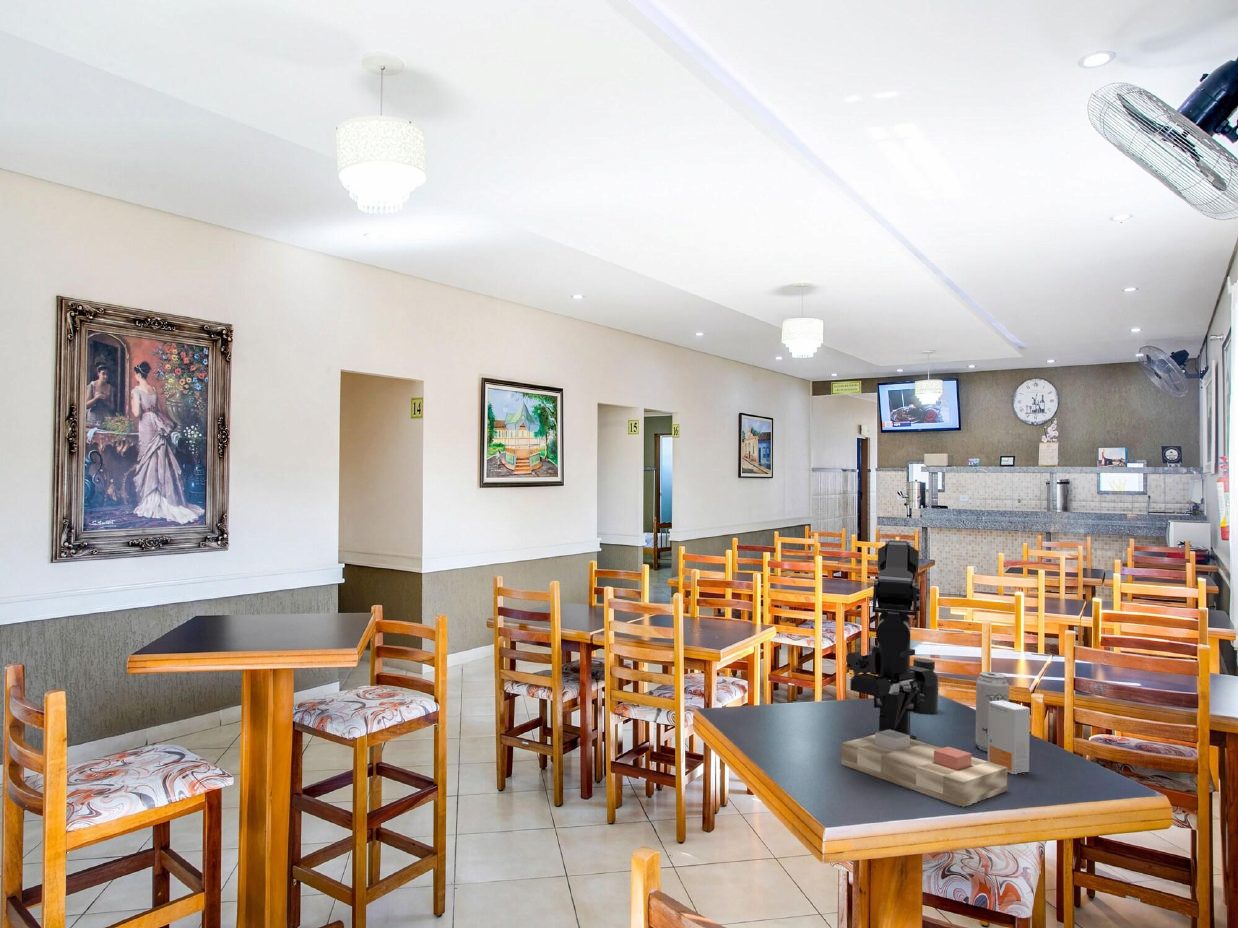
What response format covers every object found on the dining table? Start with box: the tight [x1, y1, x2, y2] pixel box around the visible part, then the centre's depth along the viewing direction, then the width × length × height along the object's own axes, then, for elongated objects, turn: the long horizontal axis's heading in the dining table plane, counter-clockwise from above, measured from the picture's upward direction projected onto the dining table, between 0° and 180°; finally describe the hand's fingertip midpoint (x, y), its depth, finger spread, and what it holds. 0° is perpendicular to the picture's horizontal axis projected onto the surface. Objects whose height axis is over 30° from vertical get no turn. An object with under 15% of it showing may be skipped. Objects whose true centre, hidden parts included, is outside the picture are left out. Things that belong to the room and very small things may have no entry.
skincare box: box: [986, 700, 1031, 775], centre depth 148 cm, size 6×4×12 cm
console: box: [840, 734, 1008, 808], centre depth 141 cm, size 14×24×4 cm, turn 36°
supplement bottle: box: [910, 657, 940, 715], centre depth 189 cm, size 7×7×12 cm
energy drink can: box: [975, 671, 1010, 753], centre depth 160 cm, size 6×6×15 cm
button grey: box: [874, 729, 911, 751], centre depth 146 cm, size 4×4×4 cm
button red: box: [934, 746, 973, 771], centre depth 137 cm, size 4×4×4 cm
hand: (892, 727), depth 146 cm, fingers closed
